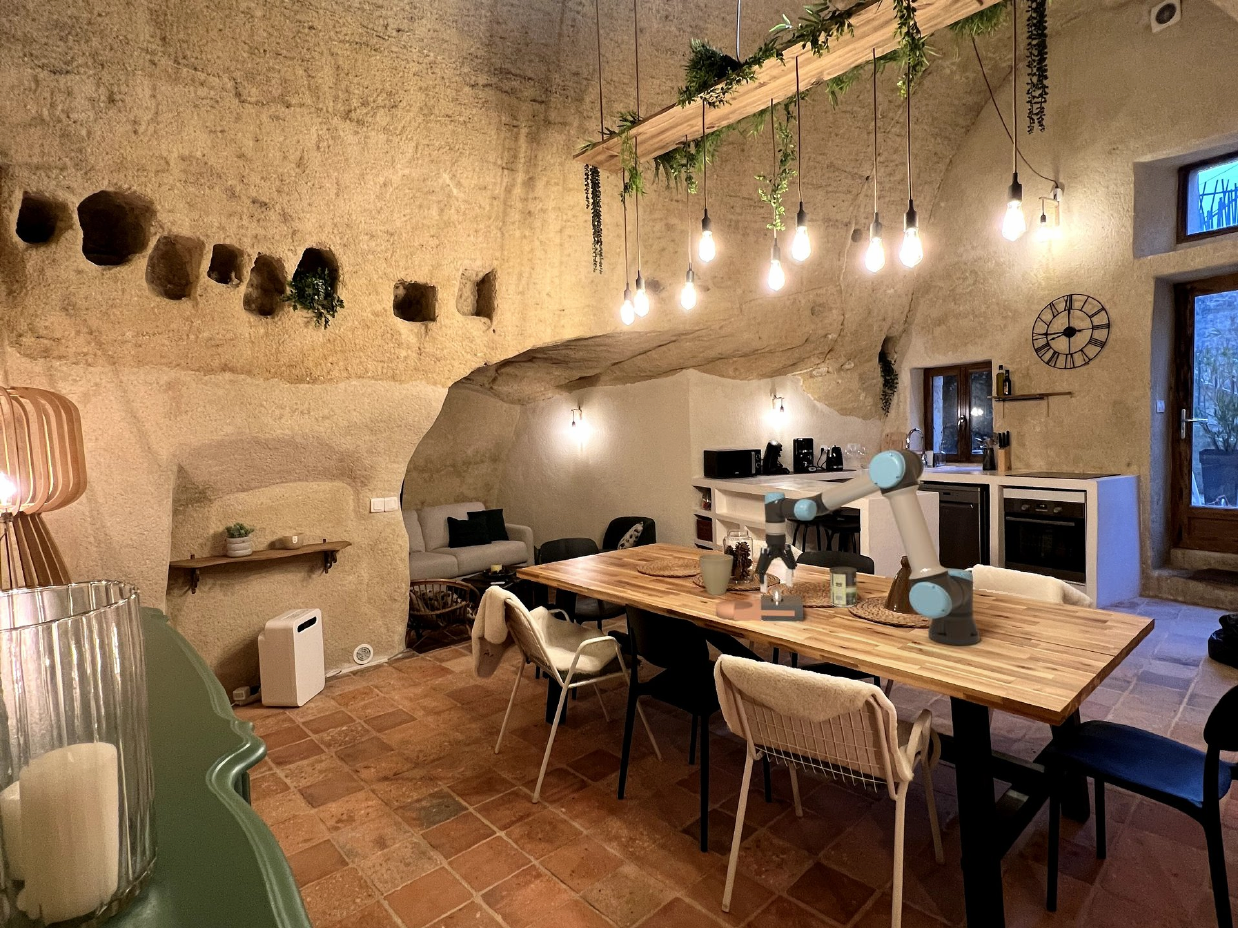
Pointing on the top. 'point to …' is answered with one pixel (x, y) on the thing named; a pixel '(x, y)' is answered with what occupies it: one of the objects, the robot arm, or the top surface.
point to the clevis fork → (783, 608)
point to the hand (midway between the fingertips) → (776, 589)
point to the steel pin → (776, 595)
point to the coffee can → (843, 586)
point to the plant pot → (716, 572)
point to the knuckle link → (746, 610)
